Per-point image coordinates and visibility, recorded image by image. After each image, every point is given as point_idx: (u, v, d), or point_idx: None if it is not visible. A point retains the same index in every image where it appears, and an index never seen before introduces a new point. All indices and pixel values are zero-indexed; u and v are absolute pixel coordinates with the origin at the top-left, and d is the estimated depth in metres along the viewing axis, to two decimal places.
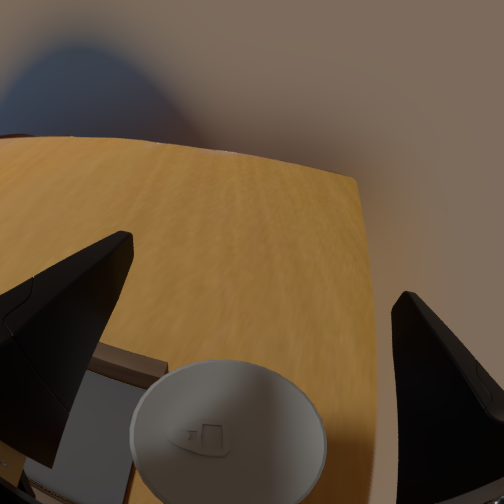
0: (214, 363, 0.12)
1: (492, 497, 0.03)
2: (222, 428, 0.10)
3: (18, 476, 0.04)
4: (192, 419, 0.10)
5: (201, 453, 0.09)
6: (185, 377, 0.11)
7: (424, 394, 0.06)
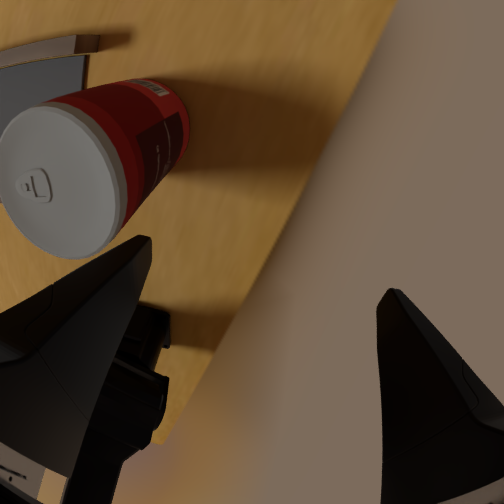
0: (22, 117, 0.08)
1: None
2: (41, 177, 0.10)
3: (37, 487, 0.04)
4: (24, 172, 0.10)
5: (36, 199, 0.11)
6: (10, 137, 0.09)
7: (408, 395, 0.06)
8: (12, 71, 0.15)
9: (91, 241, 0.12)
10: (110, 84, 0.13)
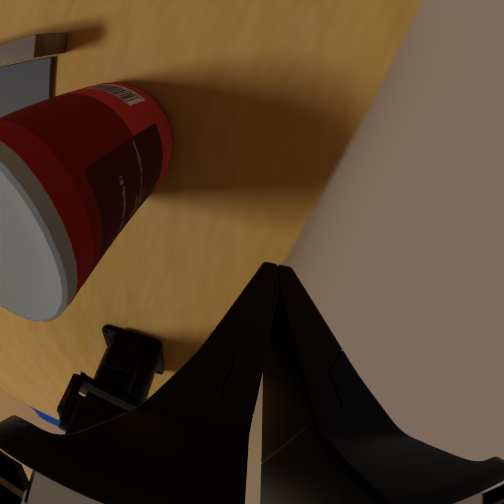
0: None
1: None
2: None
3: None
4: None
5: None
6: None
7: (275, 386, 0.06)
8: None
9: (45, 306, 0.08)
10: (67, 94, 0.09)
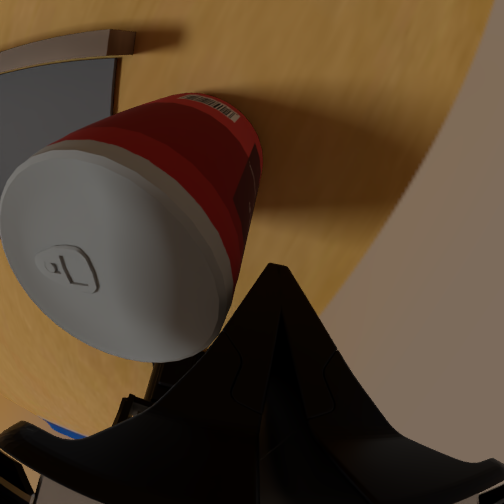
0: (34, 165, 0.05)
1: None
2: (79, 261, 0.07)
3: None
4: (48, 248, 0.07)
5: (72, 285, 0.08)
6: (17, 194, 0.06)
7: (270, 386, 0.06)
8: (14, 77, 0.12)
9: (167, 348, 0.09)
10: (165, 102, 0.10)
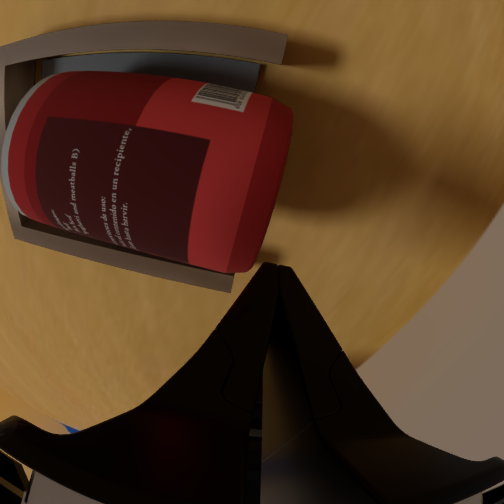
0: None
1: None
2: None
3: None
4: None
5: None
6: None
7: (275, 386, 0.06)
8: (104, 61, 0.12)
9: None
10: None
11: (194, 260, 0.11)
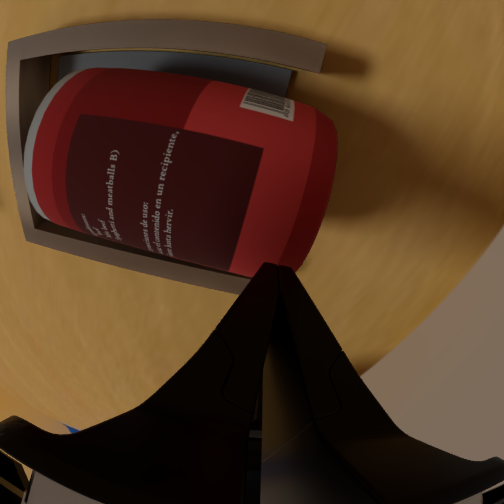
0: None
1: None
2: None
3: None
4: None
5: None
6: None
7: (275, 386, 0.06)
8: (127, 59, 0.12)
9: None
10: None
11: (236, 268, 0.11)
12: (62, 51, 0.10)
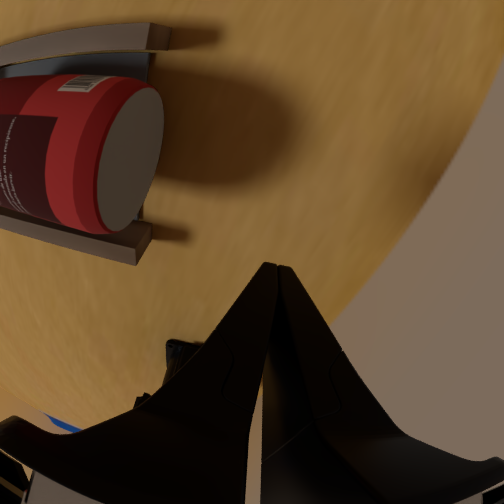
0: None
1: None
2: None
3: None
4: None
5: None
6: None
7: (275, 386, 0.06)
8: (37, 67, 0.12)
9: None
10: (68, 74, 0.10)
11: (61, 219, 0.11)
12: None
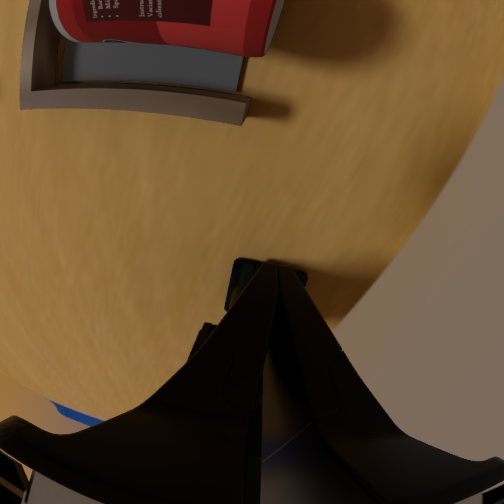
0: None
1: None
2: None
3: None
4: None
5: None
6: None
7: (275, 386, 0.06)
8: None
9: None
10: None
11: (218, 6, 0.08)
12: None
